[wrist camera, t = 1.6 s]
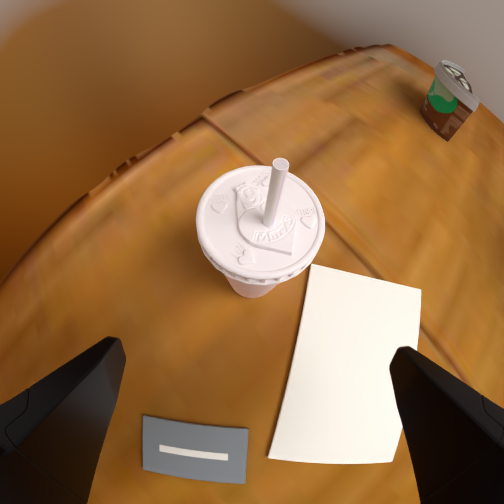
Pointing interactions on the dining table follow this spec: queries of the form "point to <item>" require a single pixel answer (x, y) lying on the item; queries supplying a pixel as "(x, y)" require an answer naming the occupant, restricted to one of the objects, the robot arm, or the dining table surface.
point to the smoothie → (259, 226)
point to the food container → (448, 100)
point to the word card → (195, 450)
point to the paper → (345, 370)
